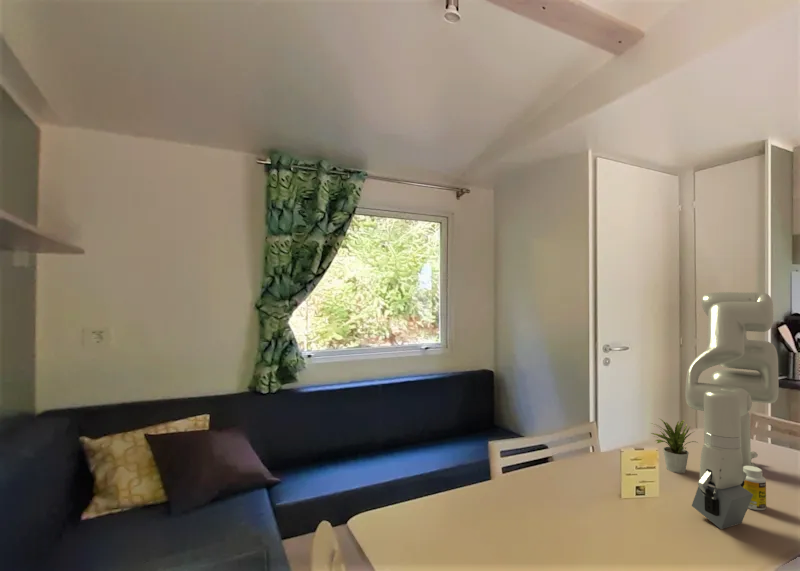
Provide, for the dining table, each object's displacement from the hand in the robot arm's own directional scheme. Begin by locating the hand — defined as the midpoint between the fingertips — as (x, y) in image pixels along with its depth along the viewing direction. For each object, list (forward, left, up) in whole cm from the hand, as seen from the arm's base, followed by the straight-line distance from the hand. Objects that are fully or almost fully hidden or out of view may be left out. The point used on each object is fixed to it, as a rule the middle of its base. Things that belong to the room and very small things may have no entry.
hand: (723, 510), depth 111 cm
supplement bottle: (-16, -3, -3) cm, 17 cm away
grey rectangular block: (0, -2, -2) cm, 3 cm away
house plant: (-20, -28, -3) cm, 35 cm away
